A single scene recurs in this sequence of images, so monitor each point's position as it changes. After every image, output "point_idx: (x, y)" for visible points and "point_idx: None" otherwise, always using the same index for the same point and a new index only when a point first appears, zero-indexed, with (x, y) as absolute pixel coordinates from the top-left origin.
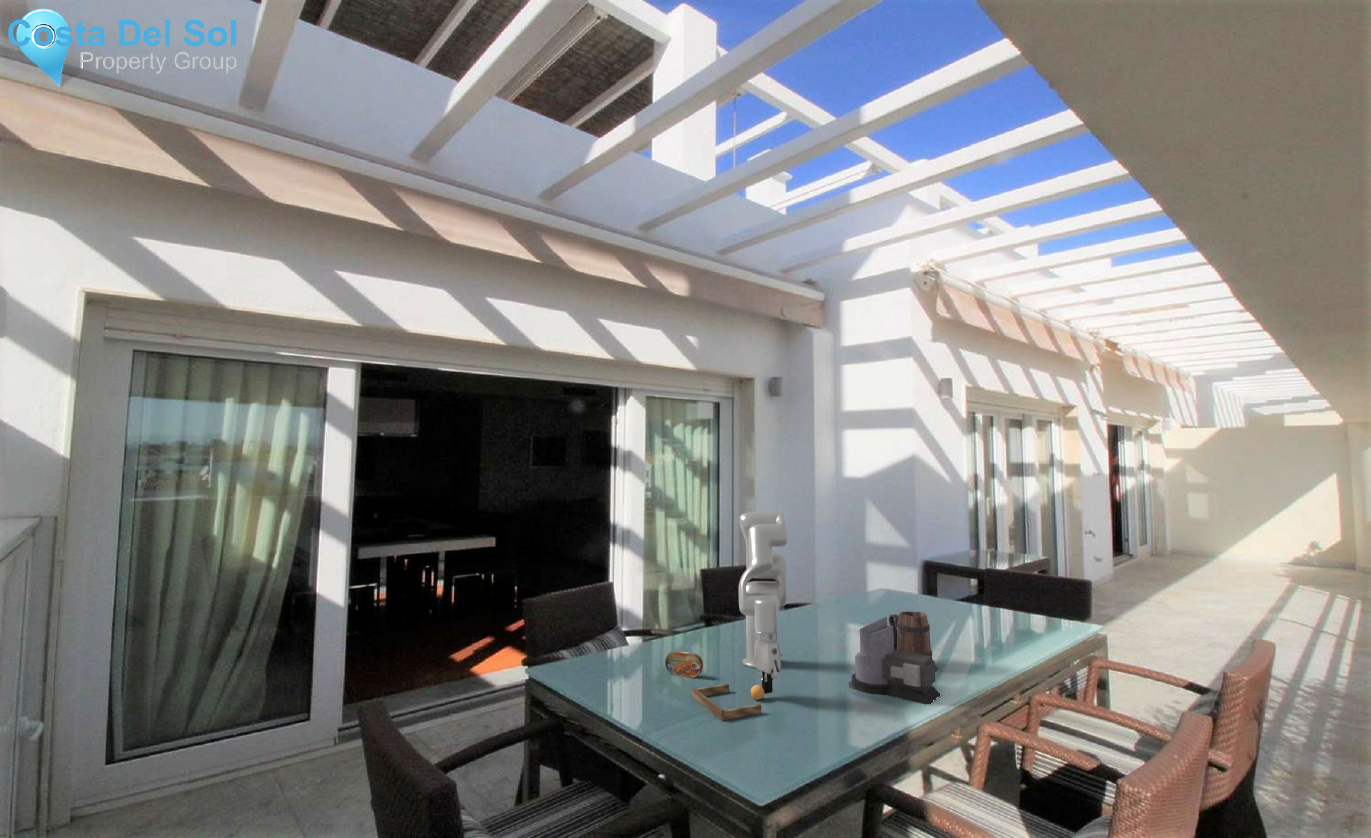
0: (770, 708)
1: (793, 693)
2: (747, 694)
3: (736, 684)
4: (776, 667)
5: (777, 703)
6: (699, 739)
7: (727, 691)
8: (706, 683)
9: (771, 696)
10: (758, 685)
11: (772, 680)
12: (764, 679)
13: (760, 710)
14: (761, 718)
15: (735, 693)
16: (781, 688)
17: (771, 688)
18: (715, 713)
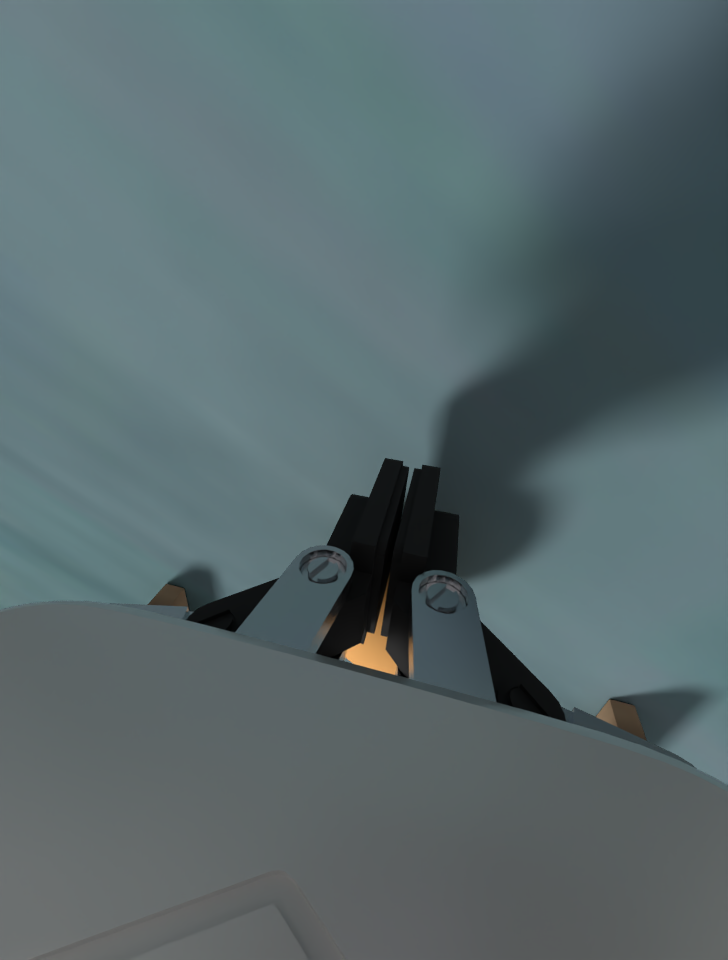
0: (627, 618)
1: (509, 62)
2: (268, 540)
3: (45, 462)
4: (616, 922)
5: (597, 508)
6: None
7: (183, 602)
8: (17, 579)
9: (410, 425)
10: (385, 656)
11: (462, 589)
12: (362, 630)
13: (637, 729)
14: (698, 752)
15: (219, 579)
16: (243, 107)
17: (457, 526)
18: None
